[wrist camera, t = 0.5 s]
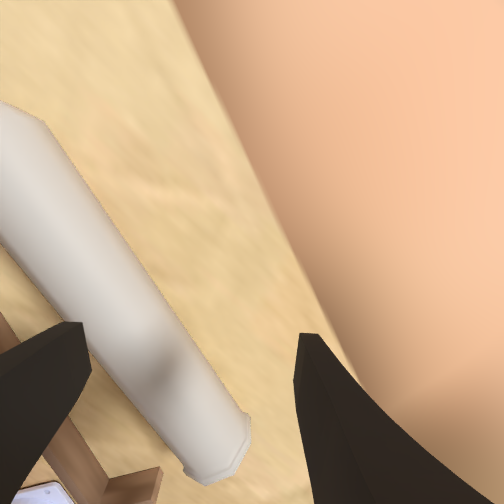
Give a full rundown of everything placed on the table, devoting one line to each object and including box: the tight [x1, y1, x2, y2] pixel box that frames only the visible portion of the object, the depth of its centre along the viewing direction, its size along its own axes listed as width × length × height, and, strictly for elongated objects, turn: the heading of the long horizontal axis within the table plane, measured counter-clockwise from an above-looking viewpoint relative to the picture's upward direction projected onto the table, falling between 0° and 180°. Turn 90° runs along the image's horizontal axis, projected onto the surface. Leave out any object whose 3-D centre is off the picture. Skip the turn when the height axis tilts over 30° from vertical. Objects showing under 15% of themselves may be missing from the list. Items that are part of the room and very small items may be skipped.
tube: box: [0, 100, 251, 486], centre depth 18 cm, size 5×5×25 cm
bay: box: [0, 312, 163, 504], centre depth 19 cm, size 5×33×2 cm, turn 16°
